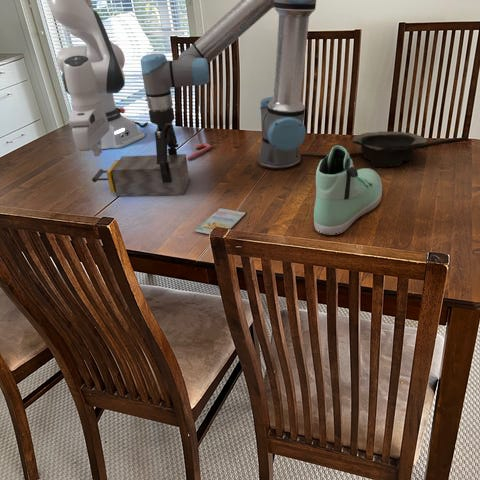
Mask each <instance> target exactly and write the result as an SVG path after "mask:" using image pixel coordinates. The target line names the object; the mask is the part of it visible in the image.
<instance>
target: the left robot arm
mask: <svg viewBox="0 0 480 480" xmlns="http://www.w3.org/2000/svg"><path fill="white" fill-rule="evenodd" d="M47 1H48V5H49V8H50V12H51V14H52V16H53V18H54V19H55V20H56V21H57V22H58V23H59V24H61V25H62V26H64V27H66V30H67V31H68V33H70V35H71V36H73V37H75V38H77V39H80V40H81V41H82V42H83V43H84V44H85V45H71V46H68V47H64V48H62V49H60V50H59V51H58V53H57V55H56V62H57V66H58V68H59V70H60V72H62V74H61V79H62V82H63V86H64V92H66V93H67V94H69V96H70V105H71V108H72V109H71V114H70V116H69V118H68V126H69V127H72V129H71V131H72V132H71V133H72V135H73V139H74V142H75V146H76V148H77V150H78V152H90V151H92V153H93V156H94V157H100V156H101V154H102V153H103V150H107V149H121V148H122V149H123V148H124V147H127V146H128V145H131V144H132V143H135V142H137V141H139V140H141V139H143V138H145V137H146V135H145V133H144V132H142V131H140V130H139V129H138V127H140V128H145V127H146V126H147V125H149V122H147V121H146V122H145V123H143V124H141V123H140V122H138V121H134V120H131V119H129V118H127V117H125V116H123V115H122V114H125V112H126V109H125V108H124V107H123V108H122V107H117V106H116V103H115V97H114V94H119V93H120V92H121V91H122V89H123V88H124V87H125V85H126V78H125V73H124V70H123V69H124V67H125V62H126V59H125V58H126V57H125V54H124V52H123V50H122V48H121V47H119V46H118V44H115V43H113V42H112V41H111V40H110V37H109V35H108V32H107V30H106V28H105V25H104V22H103V20H102V18H101V16H100V15H99V13H98V11H97V10H94V6H93V2H92V0H47Z"/></svg>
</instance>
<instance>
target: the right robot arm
mask: <svg viewBox="0 0 480 480" xmlns="http://www.w3.org/2000/svg"><path fill="white" fill-rule="evenodd" d="M316 5H317V0H240V1H239V2H237V4H235V6H234V7H232V8H231V9H230V10H229V11H228V12H226V14H225V15H224V16H222V17H221V18H220V19H219V20H218V21H217V22H216V23H214V25H212V26H211V27H210V28H209V29H208V30H207V31H206V32H205V33H203V35H201V36H200V37H199V38H198V39H197V40H196V41H195V42H193V44H191V45H190V47H188V48H187V49H184V50H183V51H182V52H181V53H180V54H179V56H178V58H177V59H175V60H168V58H167V56H166V55H165V54H164V53H148V54H145V55H143V56H142V57H141V58H140V68H141V75H142V76H141V77H142V81H143V87H144V92H145V99H144V101H145V102H146V103H147V108H148V116H149V120H150V123H151V124H154V125H156V129H155V130H156V131H154V139H155V149H156V155H157V162H156V163H157V164H160V169H161V175H162V181H163V183H169V182H172V181H171V175H170V168H169V162H168V161H167V155H176V154H178V152H177V151H178V150H177V148H179V143H178V140H177V136H176V133H175V127H174V124H173V122H174V120H175V119H176V118H175V111H174V108H173V106H174V104H173V95H172V90H171V88H182V87H183V88H184V87H199V86H204V85H208V84H209V82H210V73H209V64H211V62H212V61H214V60H215V59H216V58H217V57H218V56H219V55H220V54H222V52H224V51H225V50H226V49H227V48H228V47H229V46H230V45H232V44H233V43H234V42H236V40H237V39H239V38H240V37H241V36H242V35H244V33H246V32H247V31H248V30H250V29H251V27H252V26H254V25H255V24H256V23H257V22H259V20H260V19H261V18H263V17H264V16H265V15H266V14H267V13H268V12H270V11H271V10H273V9H274V10H275V11H276V13H277V15H278V23H277V37H276V50H275V64H274V78H273V79H274V81H273V93H272V94H273V95H272V96H269V97H264V98H263V99H261V100H260V107H259V109H260V123H261V124H260V125H261V145H260V148H259V150H258V156H257V163H258V165H259V166H260V167H261V168H263V169H267V170H272V171H282V170H288V169H293V168H295V167H297V166H299V165H300V164H301V161H302V158H325V157H326V156H327V155H329V154H330V153H329V154H314V153H312V154H311V153H310V154H309V153H300V150H299V147H301V145H302V144H304V141H305V139H306V136H307V132H306V125H305V123H304V122H305V114H306V113H305V112H306V105H305V104H304V103H303V102H302V93H303V84H304V81H303V80H304V72H305V62H306V51H307V42H308V33H309V31H308V30H309V22H310V16H311V15H312V13H314V12H315V11H316V7H317V6H316ZM468 139H469V137H468V136H463V137H462V136H461V137H452V138H447V139H446V138H445V139H441V140H436V141H430V142H426V143H424V144H422V145H420V146H417V147H414V149H418V148H423V147H428V146H432V145H439V144H444V143H450V142H457V141H465V140H467V141H468ZM348 153H349V156H350V157H360V156H361V157H362V156H365V155H364V154H363V153H362V152H351V153H350V152H348Z"/></svg>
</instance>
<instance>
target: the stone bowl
mask: <svg viewBox="0 0 480 480" xmlns="http://www.w3.org/2000/svg"><path fill="white" fill-rule="evenodd" d="M351 143H353V144H355V145H358V146H360V149H361V153H363V154H364V155H363V156H364V157H365V158H366V159H367V160H370V161H371V166H373V167H376V168H377V167H380V168H389V167H397V166H400V165H402V162H403V161H404V162H408V161H409V162H410V161H412V160H413V157H414V153H415V148H414V147H417V146H420V145H422V144H425V143H429V140H428V139H427V138H425V137H423V136H421V135H418V134H415V133H412V132H404V131H376V132H375V131H374V132H373V131H372V132H364V133H362V134H356V135H355V136H353V137H352V141H351Z"/></svg>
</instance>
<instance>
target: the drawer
mask: <svg viewBox="0 0 480 480" xmlns="http://www.w3.org/2000/svg"><path fill="white" fill-rule="evenodd" d="M119 160H120V159H115V161H114V162H113V164H112V165H111V166H110V167H109V168H108V169H107V170H104V169H102V168H100V169H99V170H97V172H96V173H95V174H94V176H93V177H92V178H91V181H92V182H93V183H97V182H99V181H108V186H109V189H110V190H109V191H110V193H111V194H115V193H117V192H116V188H115V183H114V179H113V174H112V169H113V168H114V166H115V165H116V164H117V162H118V161H119ZM103 174H106V177H102V176H103Z"/></svg>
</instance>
